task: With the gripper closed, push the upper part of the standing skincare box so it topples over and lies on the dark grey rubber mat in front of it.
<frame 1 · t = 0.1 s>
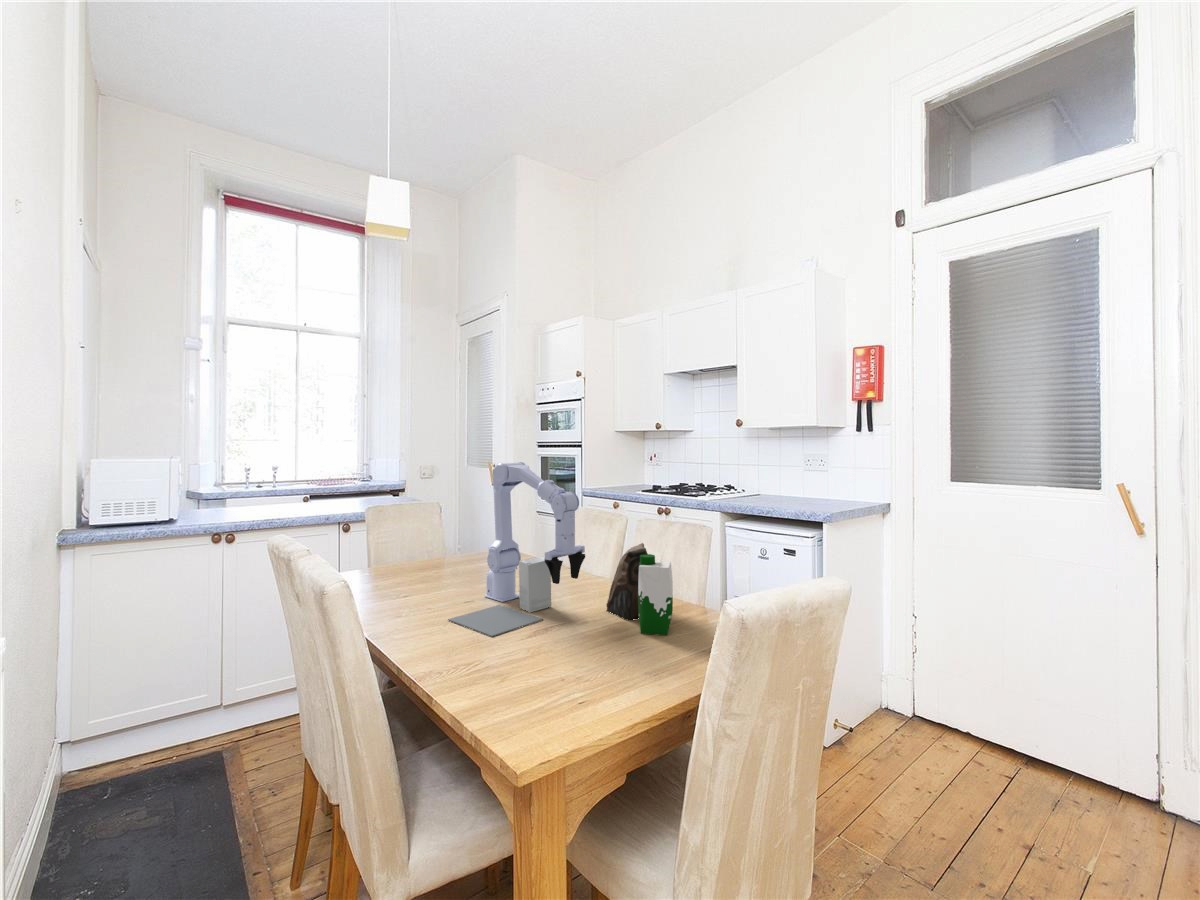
hand: (565, 580, 161), 10 cm above the table, tool pointing down, fingers open, 7 cm apart
milk carton: (655, 631, 148), on the table
owl: (627, 613, 163), on the table
skincare box: (535, 608, 168), on the table
mat: (495, 620, 156), on the table
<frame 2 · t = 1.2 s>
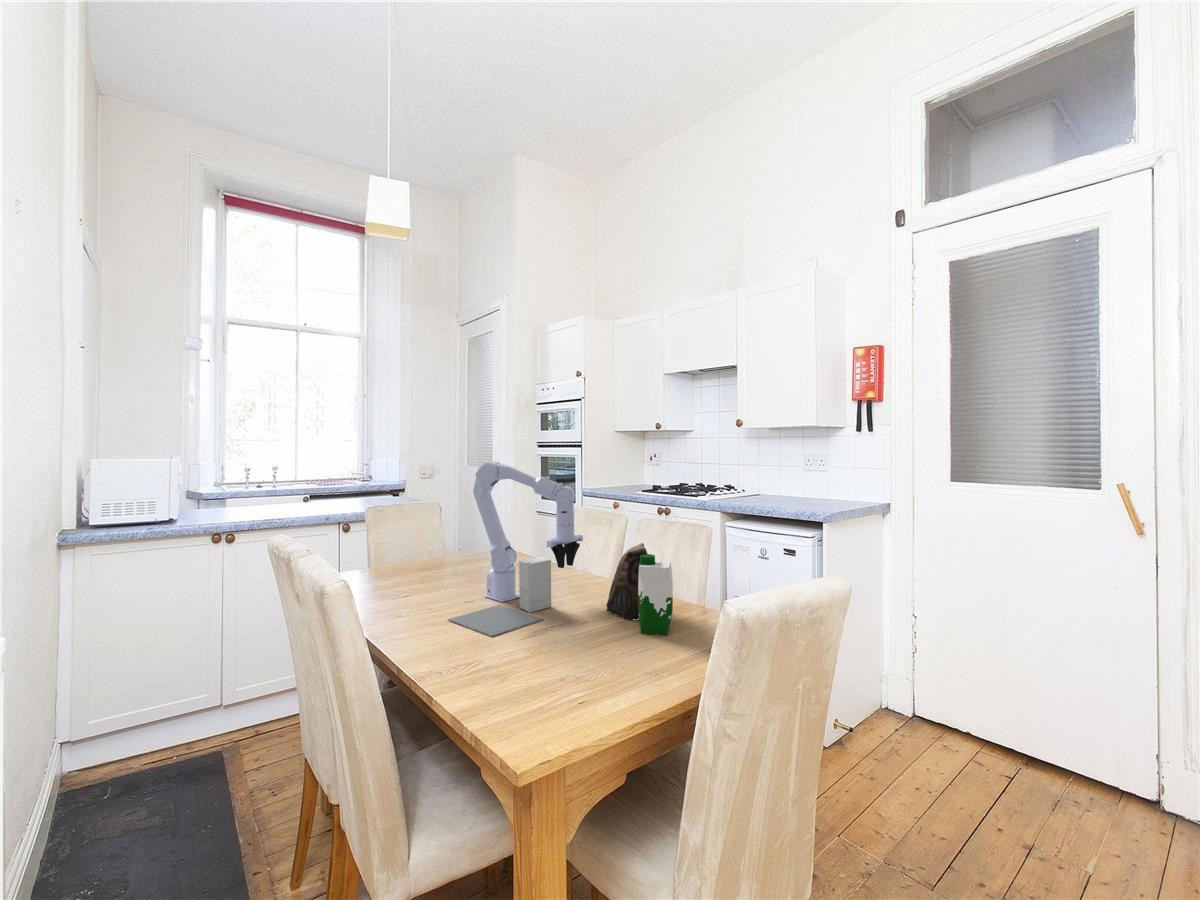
hand: (565, 566, 177), 10 cm above the table, tool pointing down, fingers open, 3 cm apart
nothing on the table moved.
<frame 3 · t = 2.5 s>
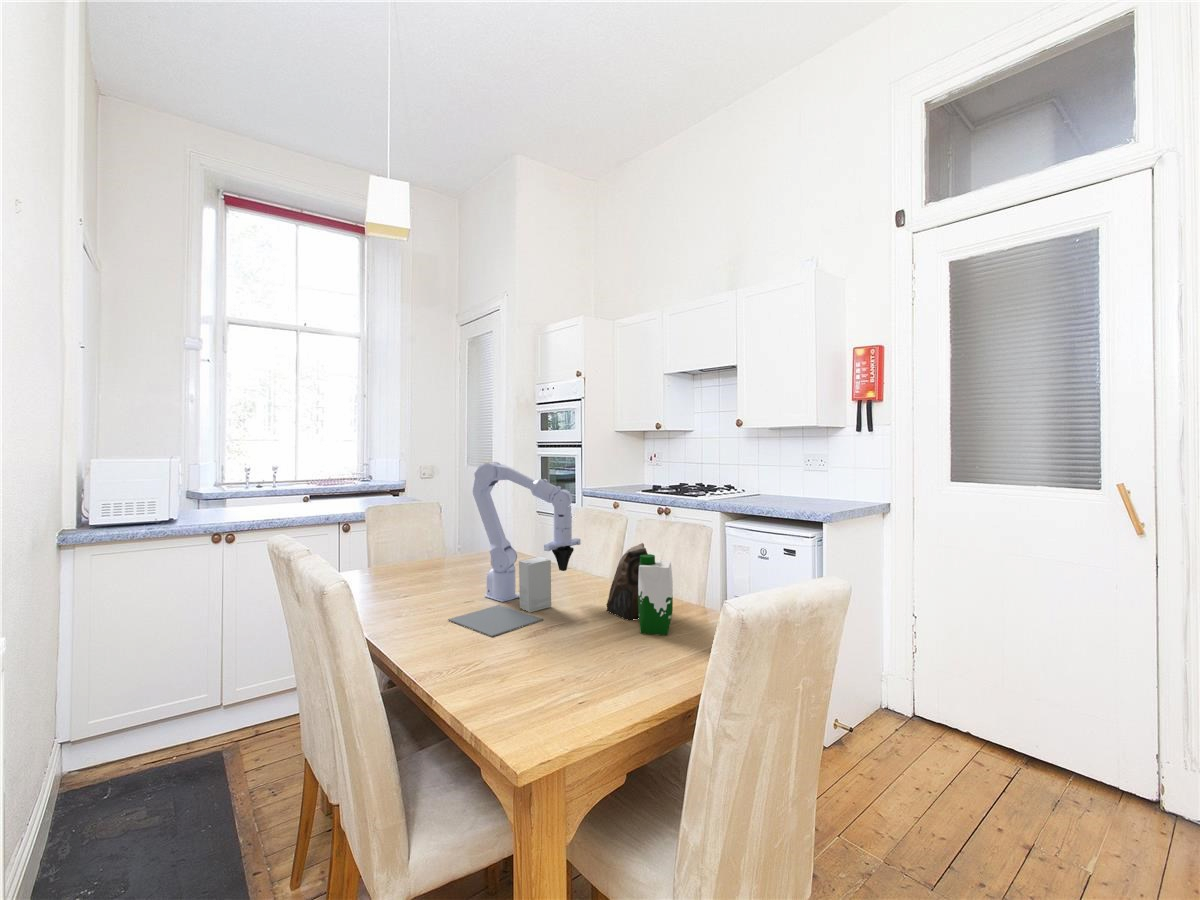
hand: (562, 570, 176), 9 cm above the table, tool pointing down, fingers closed
nothing on the table moved.
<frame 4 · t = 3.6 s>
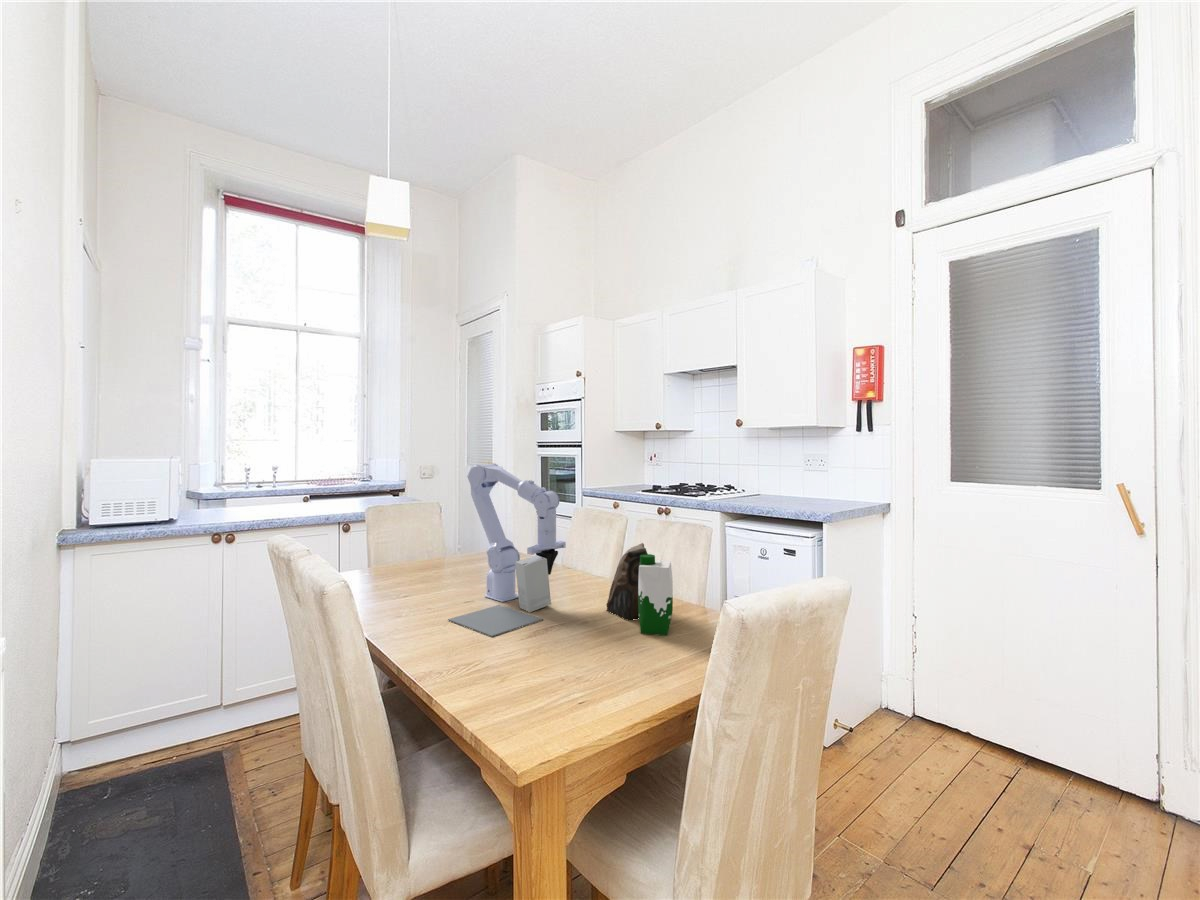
hand: (547, 574, 171), 9 cm above the table, tool pointing down, fingers closed
skincare box: (535, 607, 168), on the table, touching gripper
everything else where it was.
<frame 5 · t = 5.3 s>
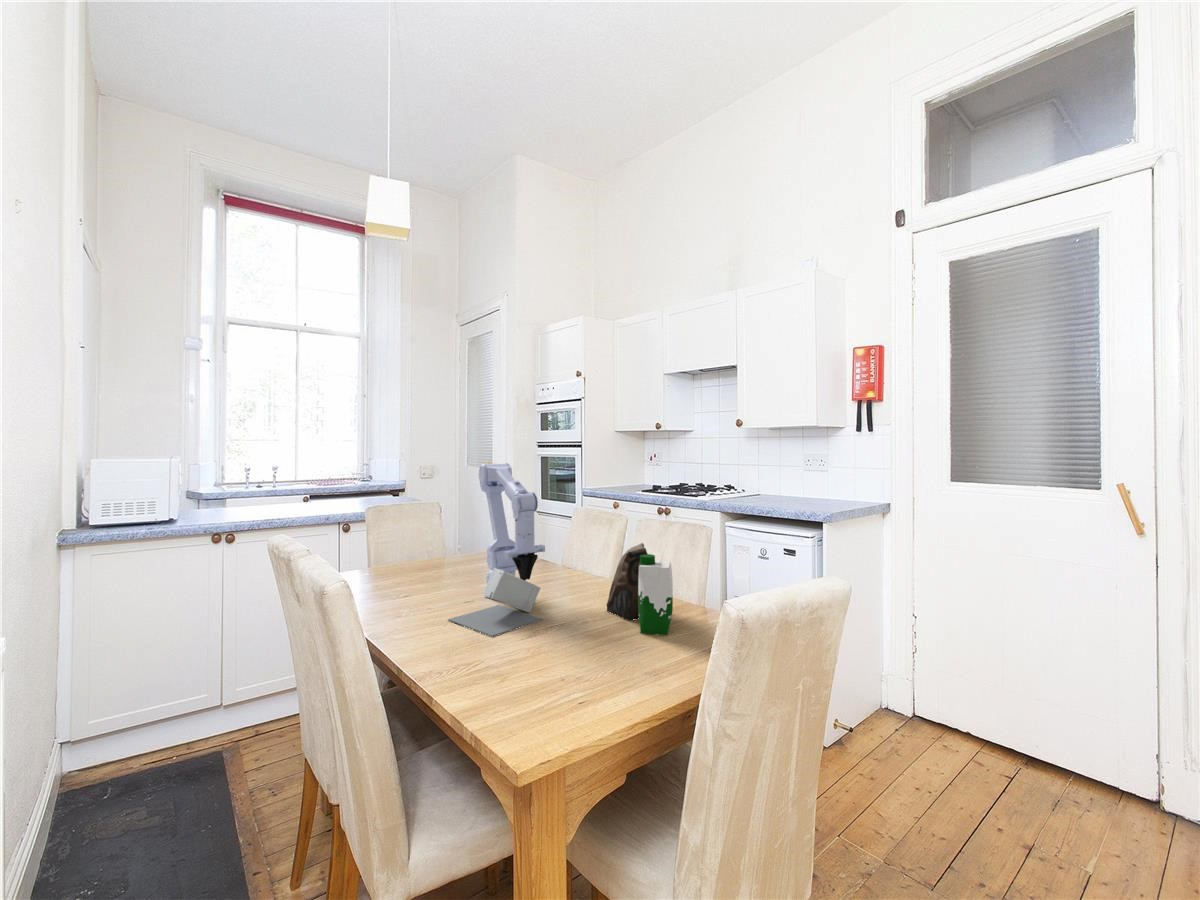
hand: (525, 579, 164), 10 cm above the table, tool pointing down, fingers closed
skincare box: (531, 599, 166), point 3 cm above the table, touching gripper
everything else where it was.
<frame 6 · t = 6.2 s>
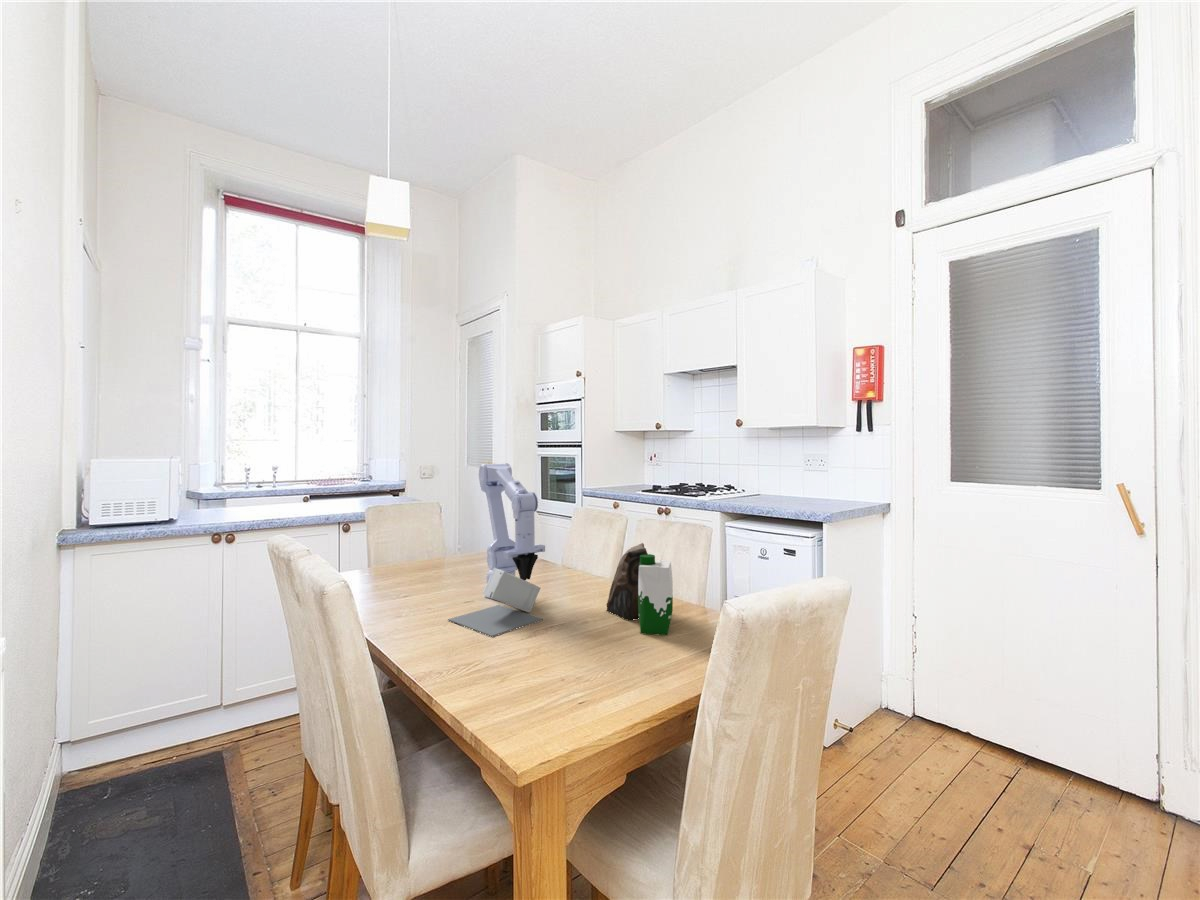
hand: (525, 579, 164), 10 cm above the table, tool pointing down, fingers closed
nothing on the table moved.
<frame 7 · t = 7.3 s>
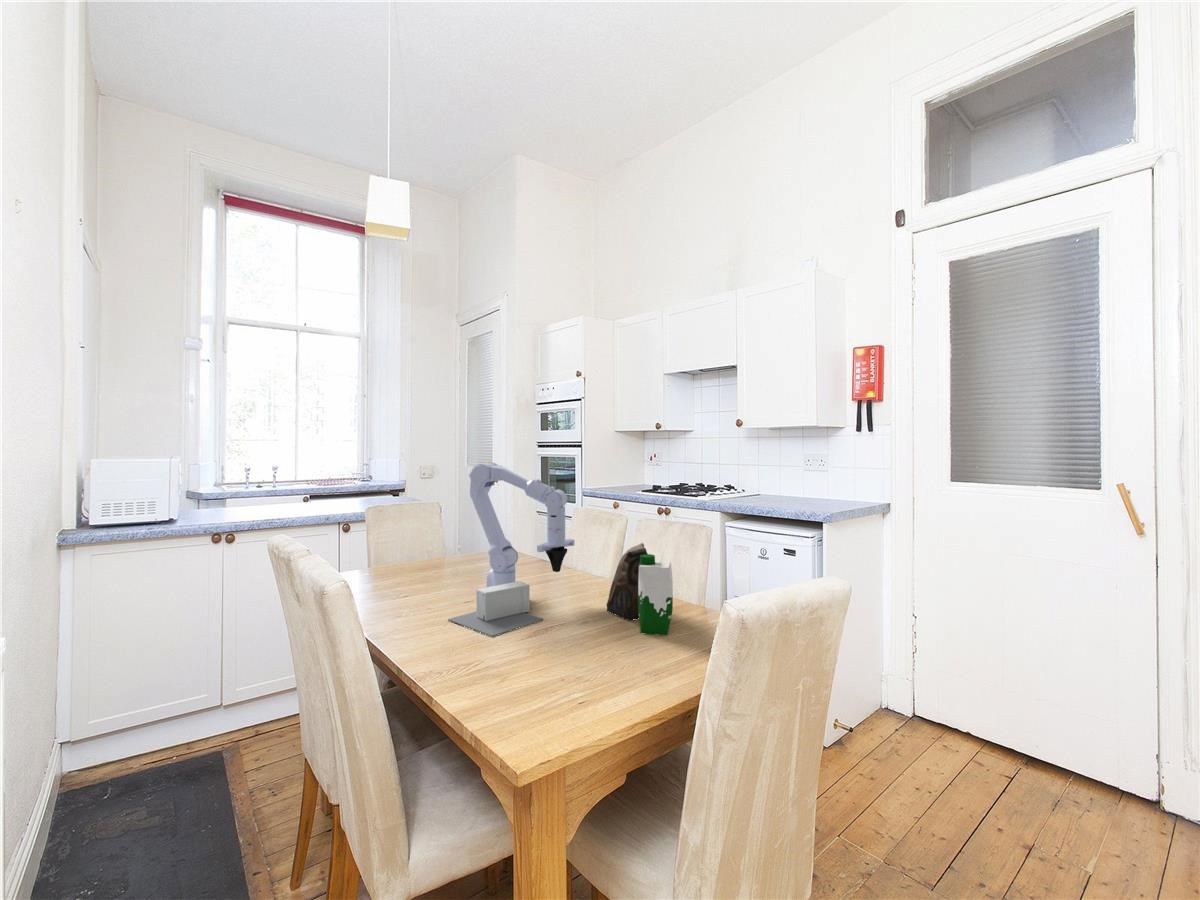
hand: (556, 571, 175), 9 cm above the table, tool pointing down, fingers closed
skincare box: (526, 596, 165), point 4 cm above the table, touching mat
everything else where it was.
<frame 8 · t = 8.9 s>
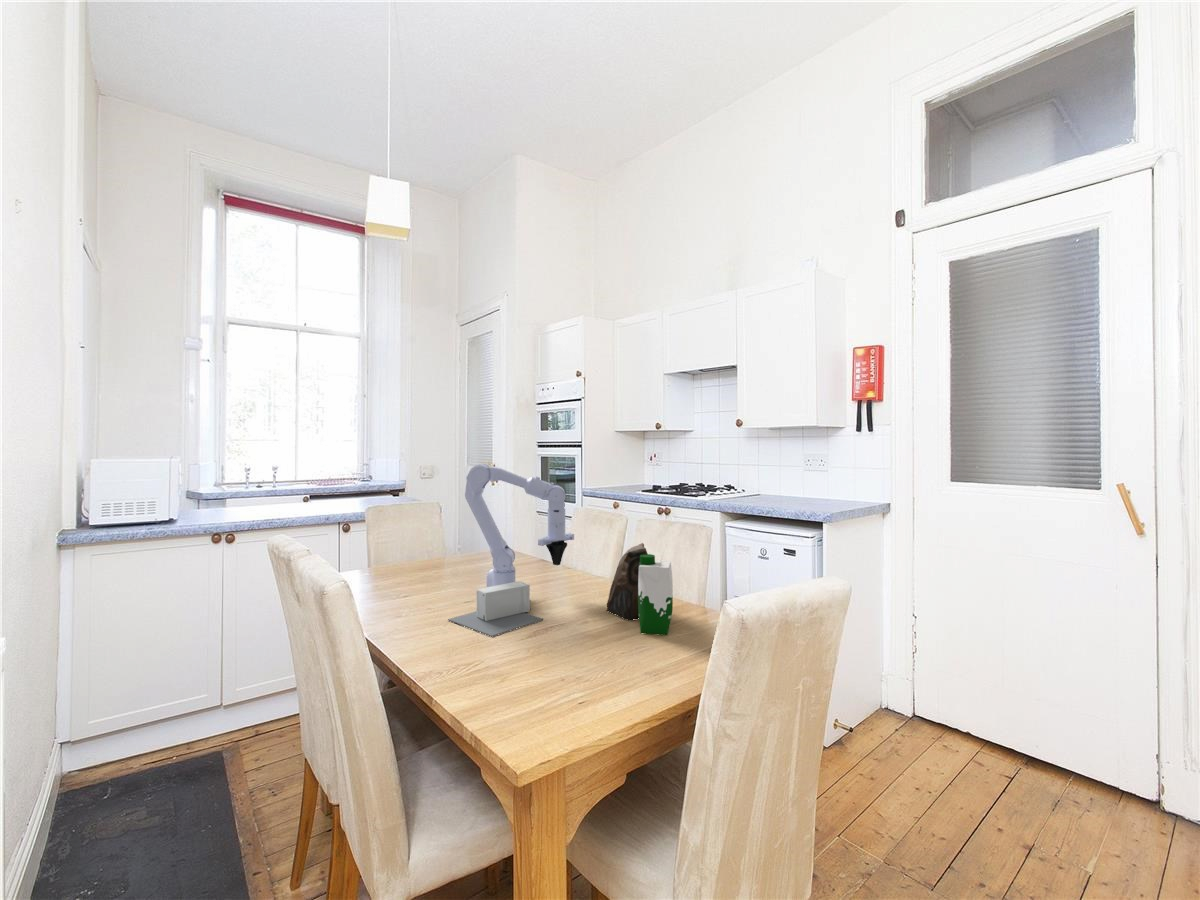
hand: (556, 564, 180), 10 cm above the table, tool pointing down, fingers closed
nothing on the table moved.
at the end: skincare box tilted 88°; skincare box inside the target area (0.8 cm from its centre), point 4.1 cm above the table; skincare box touching mat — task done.
